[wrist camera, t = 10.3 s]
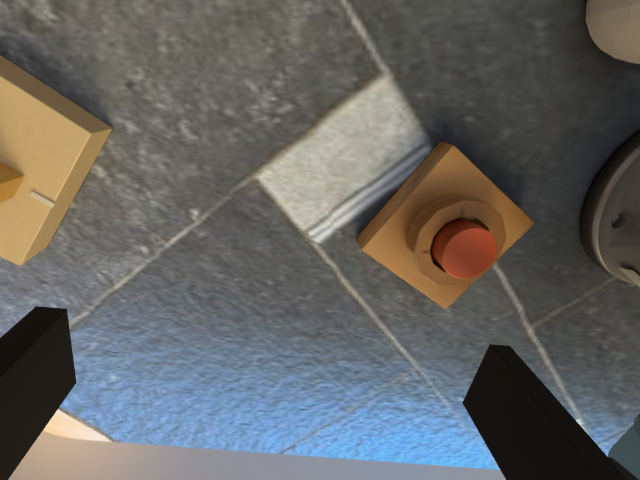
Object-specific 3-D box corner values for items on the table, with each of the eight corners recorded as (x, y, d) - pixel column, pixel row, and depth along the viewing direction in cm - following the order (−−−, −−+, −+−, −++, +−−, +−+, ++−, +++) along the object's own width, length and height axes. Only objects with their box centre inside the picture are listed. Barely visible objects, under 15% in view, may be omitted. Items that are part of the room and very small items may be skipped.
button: (460, 208, 24) (472, 216, 23) (494, 238, 26) (508, 248, 24) (421, 249, 26) (430, 260, 24) (456, 276, 27) (467, 288, 25)
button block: (440, 140, 26) (466, 149, 22) (517, 213, 29) (551, 231, 26) (355, 238, 29) (366, 260, 25) (435, 295, 32) (455, 322, 28)
